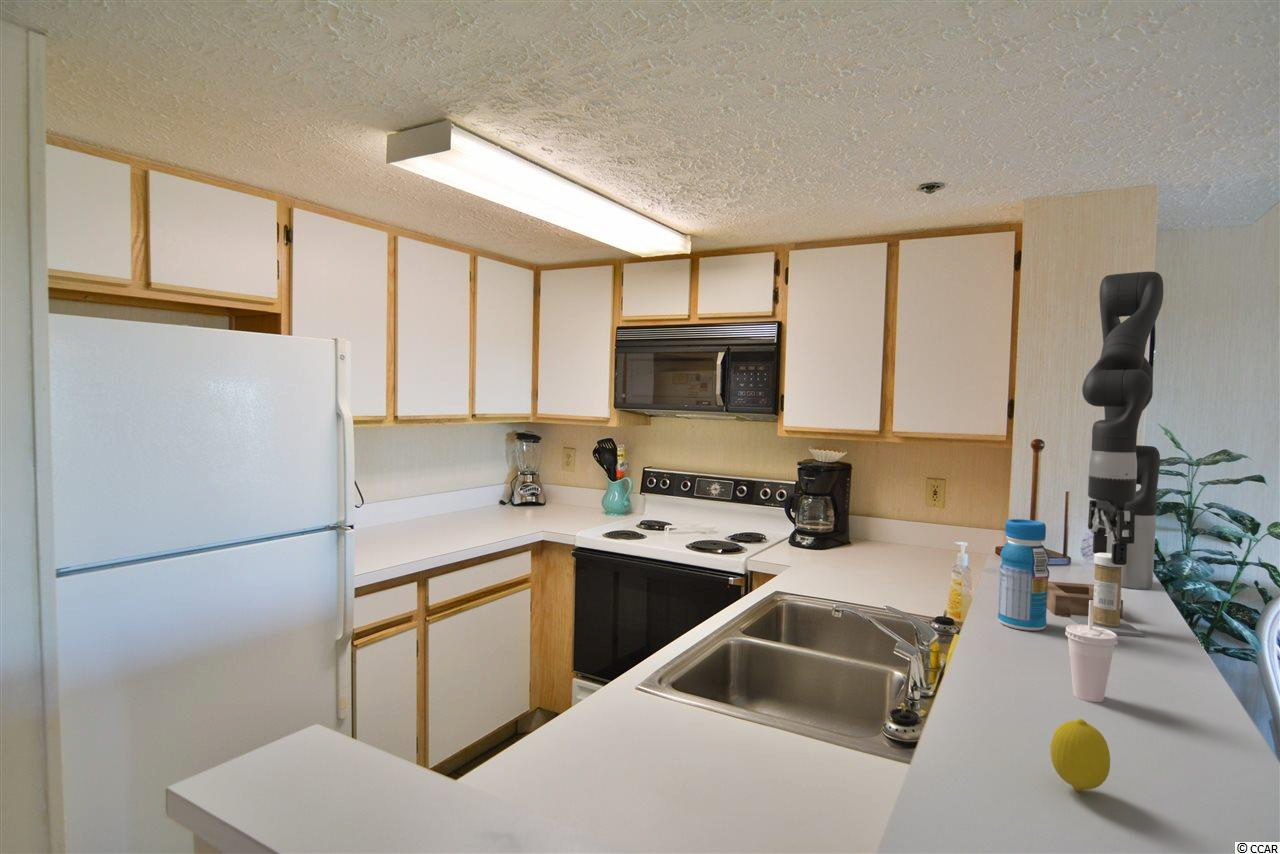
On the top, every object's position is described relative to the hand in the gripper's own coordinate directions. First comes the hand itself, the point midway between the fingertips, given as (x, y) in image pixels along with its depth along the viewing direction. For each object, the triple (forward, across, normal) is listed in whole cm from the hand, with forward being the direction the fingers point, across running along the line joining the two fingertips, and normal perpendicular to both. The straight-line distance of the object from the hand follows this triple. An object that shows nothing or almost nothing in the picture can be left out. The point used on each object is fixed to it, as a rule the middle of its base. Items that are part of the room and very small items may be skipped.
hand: (1108, 559), depth 132 cm
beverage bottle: (+13, -3, +16) cm, 21 cm away
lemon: (+12, -65, +27) cm, 71 cm away
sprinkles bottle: (+13, 0, 0) cm, 13 cm away
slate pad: (+13, 0, 0) cm, 13 cm away
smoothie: (+13, -37, +16) cm, 42 cm away
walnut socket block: (+13, +11, +1) cm, 17 cm away
